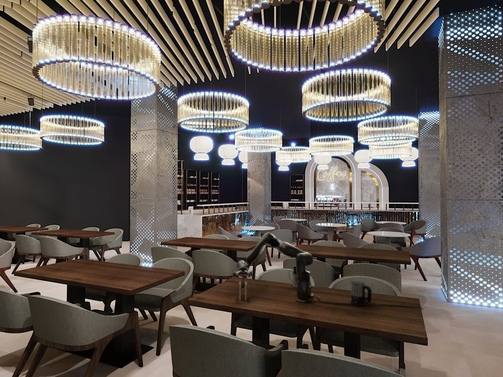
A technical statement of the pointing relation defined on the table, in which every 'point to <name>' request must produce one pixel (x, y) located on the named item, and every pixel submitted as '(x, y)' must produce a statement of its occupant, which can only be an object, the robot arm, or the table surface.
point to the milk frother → (360, 293)
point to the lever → (242, 281)
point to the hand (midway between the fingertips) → (243, 275)
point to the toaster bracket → (240, 290)
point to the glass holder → (294, 277)
